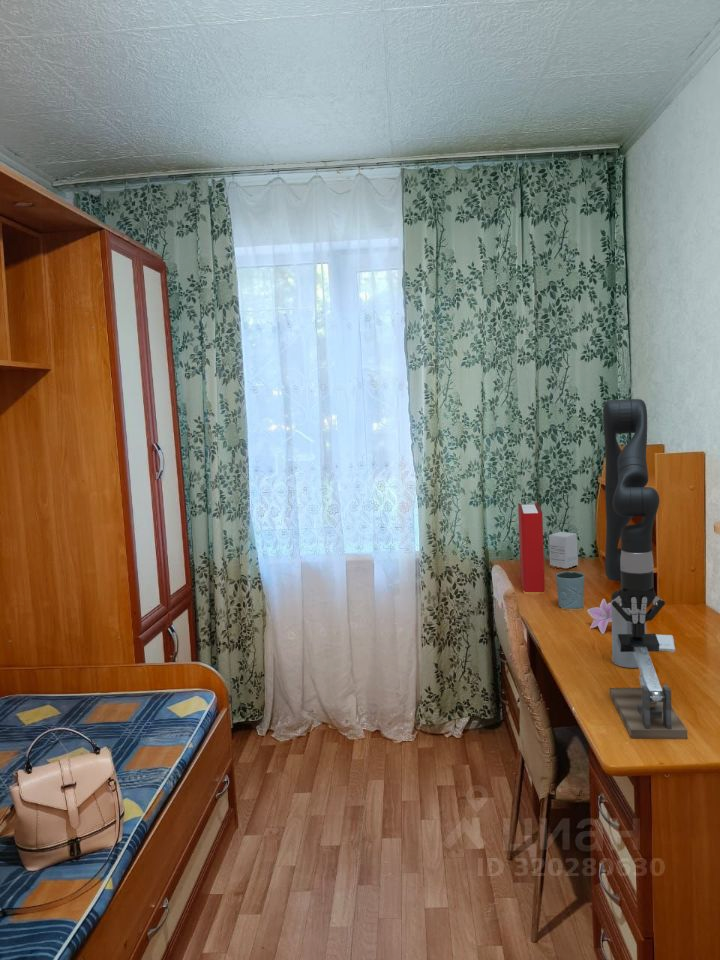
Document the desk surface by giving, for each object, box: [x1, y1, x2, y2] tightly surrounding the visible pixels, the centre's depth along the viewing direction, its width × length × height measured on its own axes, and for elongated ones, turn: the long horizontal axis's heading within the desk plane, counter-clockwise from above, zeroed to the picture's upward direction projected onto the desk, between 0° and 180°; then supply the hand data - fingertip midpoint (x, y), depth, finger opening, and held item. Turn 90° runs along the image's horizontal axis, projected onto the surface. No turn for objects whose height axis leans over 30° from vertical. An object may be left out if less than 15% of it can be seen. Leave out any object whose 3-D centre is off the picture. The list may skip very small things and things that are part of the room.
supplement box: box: [548, 531, 579, 568], centre depth 326 cm, size 9×9×15 cm
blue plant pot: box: [555, 570, 586, 610], centre depth 267 cm, size 10×10×12 cm
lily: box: [587, 598, 612, 635], centre depth 241 cm, size 12×12×10 cm
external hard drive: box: [656, 634, 676, 653], centre depth 225 cm, size 2×8×12 cm
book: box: [517, 502, 546, 592], centre depth 298 cm, size 27×8×32 cm, turn 170°
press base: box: [609, 684, 688, 740], centre depth 177 cm, size 24×12×11 cm, turn 173°
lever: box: [617, 633, 665, 702], centre depth 175 cm, size 21×9×4 cm, turn 173°
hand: (637, 636), depth 182 cm, fingers closed
